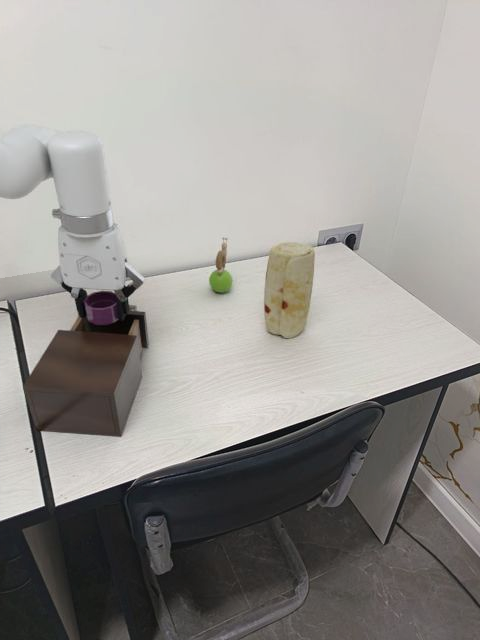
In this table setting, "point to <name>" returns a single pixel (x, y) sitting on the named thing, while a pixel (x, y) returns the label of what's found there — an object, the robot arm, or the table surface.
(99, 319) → the bowl
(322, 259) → the table surface
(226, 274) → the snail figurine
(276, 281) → the food model
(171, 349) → the table surface
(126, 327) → the drawer
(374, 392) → the table surface
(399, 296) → the table surface
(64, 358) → the dark wooden cabinet
